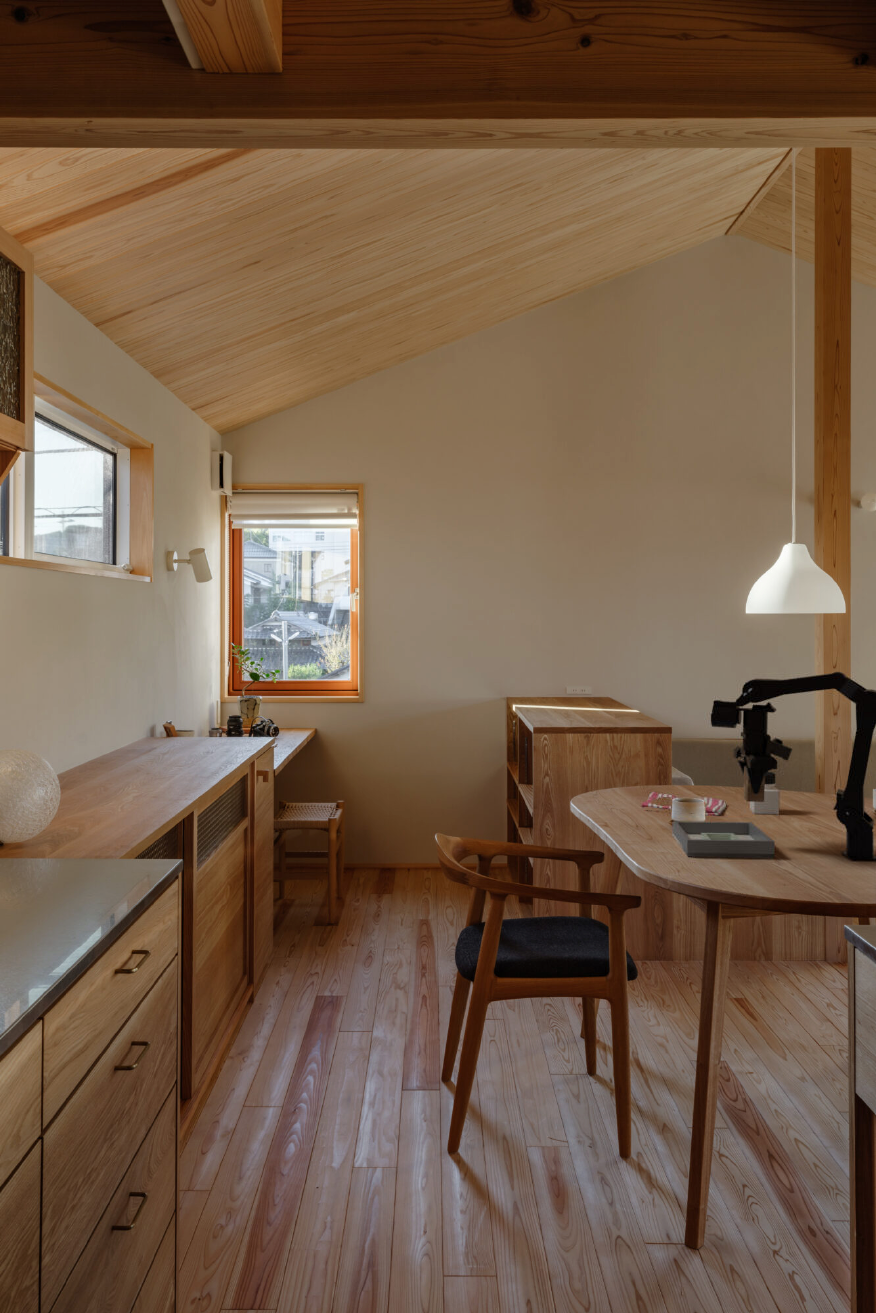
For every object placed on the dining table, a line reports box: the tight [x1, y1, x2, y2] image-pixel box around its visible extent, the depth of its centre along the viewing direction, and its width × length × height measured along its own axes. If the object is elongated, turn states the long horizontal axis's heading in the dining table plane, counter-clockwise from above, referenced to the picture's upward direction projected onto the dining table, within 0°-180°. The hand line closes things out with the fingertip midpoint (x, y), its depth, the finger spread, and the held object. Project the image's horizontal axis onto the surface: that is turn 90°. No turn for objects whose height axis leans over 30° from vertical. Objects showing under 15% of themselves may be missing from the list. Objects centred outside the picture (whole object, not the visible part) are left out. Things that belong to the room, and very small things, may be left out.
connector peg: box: [743, 767, 765, 803], centre depth 208 cm, size 4×4×8 cm
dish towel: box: [640, 791, 727, 817], centre depth 255 cm, size 17×23×4 cm
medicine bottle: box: [749, 770, 780, 816], centre depth 248 cm, size 7×7×12 cm
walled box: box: [672, 821, 775, 859], centre depth 208 cm, size 20×20×4 cm
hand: (753, 791), depth 209 cm, fingers closed on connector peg, 4 cm apart
